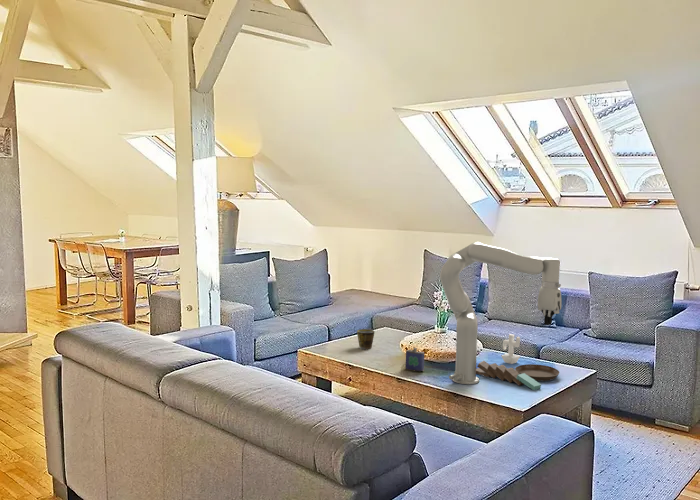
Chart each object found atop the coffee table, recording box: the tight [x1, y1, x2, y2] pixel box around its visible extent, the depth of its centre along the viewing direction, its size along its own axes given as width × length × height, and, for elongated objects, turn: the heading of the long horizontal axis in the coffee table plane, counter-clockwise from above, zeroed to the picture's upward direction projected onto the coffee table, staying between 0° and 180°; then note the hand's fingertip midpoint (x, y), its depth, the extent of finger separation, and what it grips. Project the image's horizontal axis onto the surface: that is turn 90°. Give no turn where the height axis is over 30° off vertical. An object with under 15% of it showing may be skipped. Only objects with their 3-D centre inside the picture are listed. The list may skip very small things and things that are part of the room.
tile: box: [516, 373, 542, 391], centre depth 290 cm, size 2×5×10 cm
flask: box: [404, 347, 425, 372], centre depth 314 cm, size 10×3×12 cm, turn 60°
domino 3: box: [488, 363, 507, 382], centre depth 303 cm, size 2×5×10 cm
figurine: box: [500, 333, 521, 365], centre depth 331 cm, size 7×9×15 cm
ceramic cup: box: [356, 328, 375, 351], centre depth 357 cm, size 13×10×10 cm
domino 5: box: [504, 367, 525, 386], centre depth 296 cm, size 2×5×10 cm
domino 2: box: [476, 360, 498, 379], centre depth 306 cm, size 2×5×10 cm
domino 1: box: [476, 367, 492, 378], centre depth 310 cm, size 2×5×10 cm
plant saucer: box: [514, 363, 560, 382], centre depth 308 cm, size 21×21×3 cm
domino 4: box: [495, 364, 515, 384], centre depth 300 cm, size 2×5×10 cm
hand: (547, 324), depth 289 cm, fingers closed
